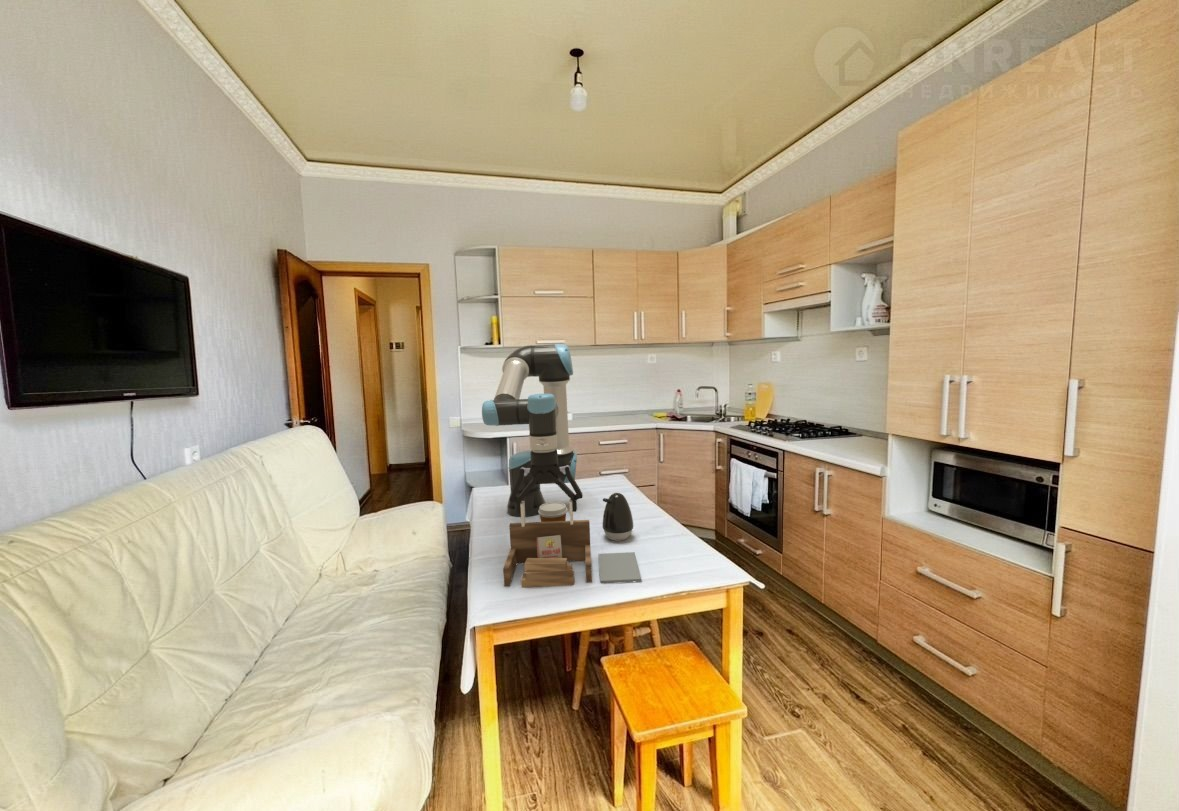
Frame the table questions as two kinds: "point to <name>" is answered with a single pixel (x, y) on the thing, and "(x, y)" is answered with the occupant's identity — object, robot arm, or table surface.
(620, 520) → the pump dispenser
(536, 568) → the offcut stack
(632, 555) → the mat
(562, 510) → the disposable coffee cup
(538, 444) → the robot arm
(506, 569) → the bench
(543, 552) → the tea bag
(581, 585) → the table surface
